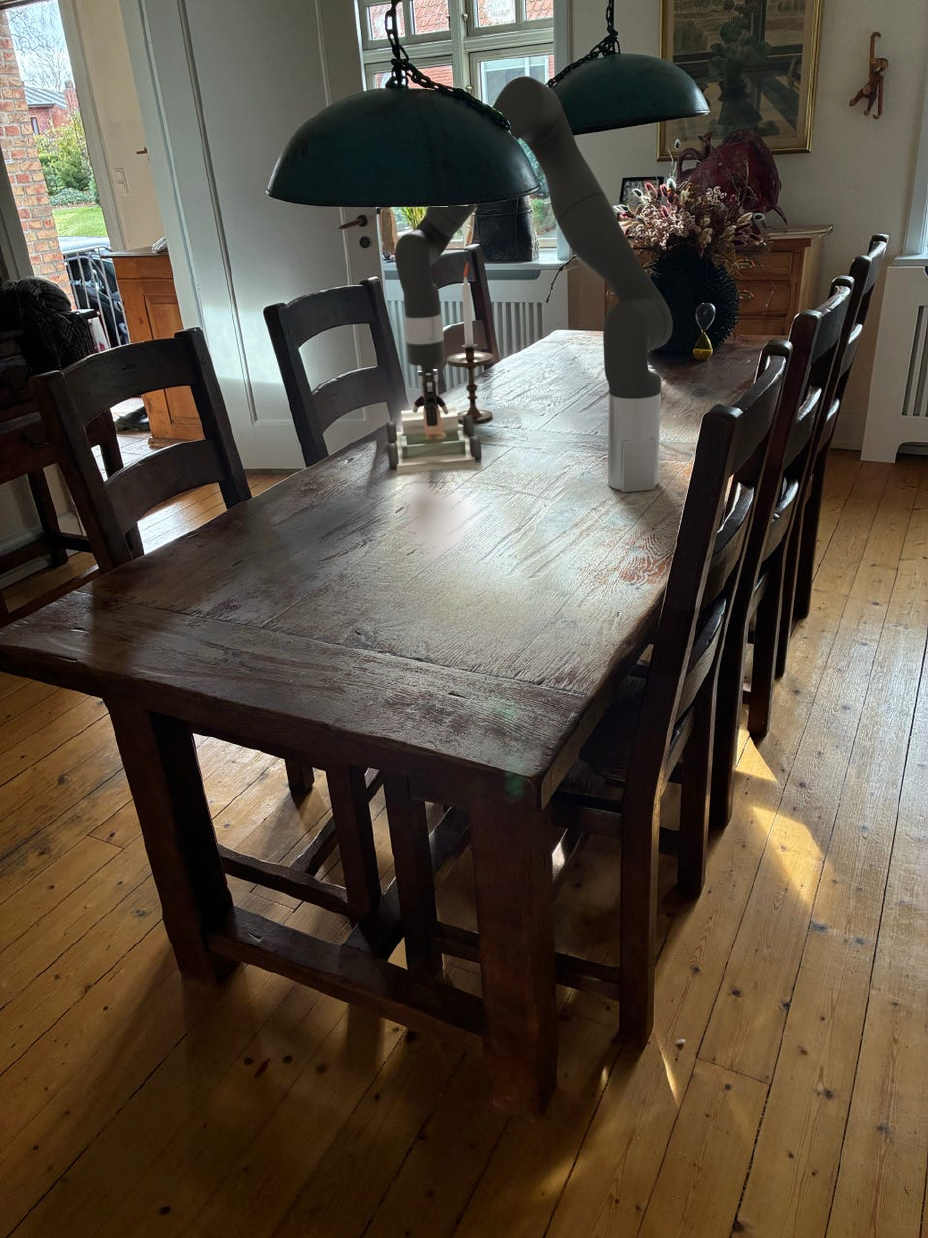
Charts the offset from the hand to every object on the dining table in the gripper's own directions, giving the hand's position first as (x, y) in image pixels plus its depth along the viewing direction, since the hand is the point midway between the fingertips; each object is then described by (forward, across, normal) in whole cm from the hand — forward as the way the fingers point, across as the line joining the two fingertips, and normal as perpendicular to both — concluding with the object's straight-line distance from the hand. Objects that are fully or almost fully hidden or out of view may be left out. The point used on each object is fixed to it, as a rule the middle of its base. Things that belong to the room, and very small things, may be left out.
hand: (431, 422), depth 191 cm
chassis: (+7, +3, 0) cm, 8 cm away
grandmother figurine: (+3, 0, 0) cm, 3 cm away
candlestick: (+7, +26, -11) cm, 29 cm away
